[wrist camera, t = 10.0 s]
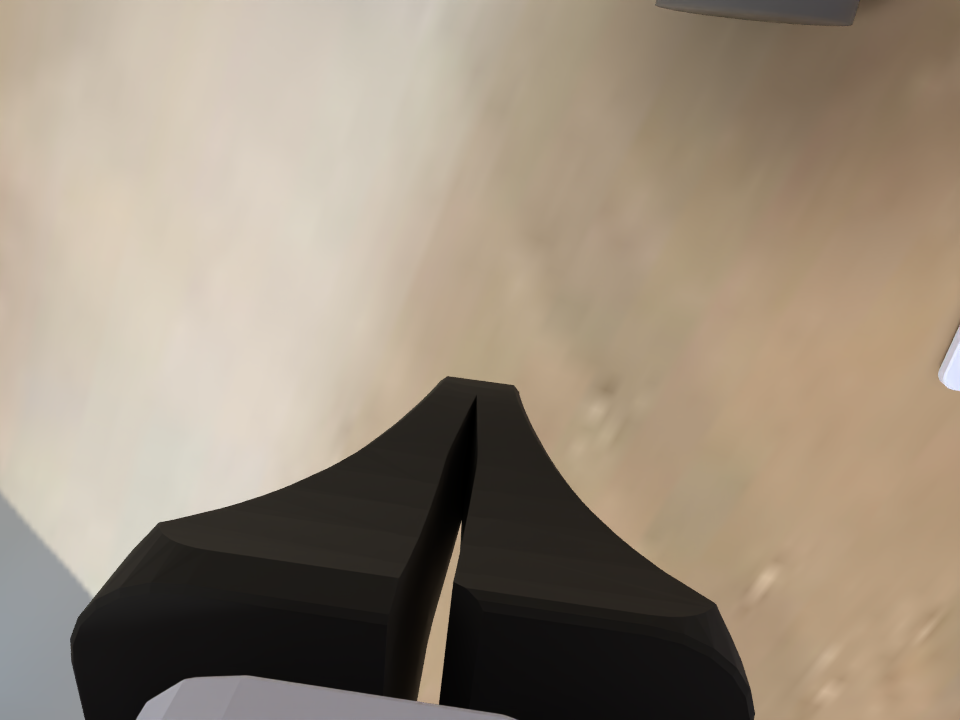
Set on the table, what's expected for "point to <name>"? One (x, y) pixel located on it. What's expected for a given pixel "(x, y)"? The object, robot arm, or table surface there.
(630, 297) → the table surface
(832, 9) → the frame
